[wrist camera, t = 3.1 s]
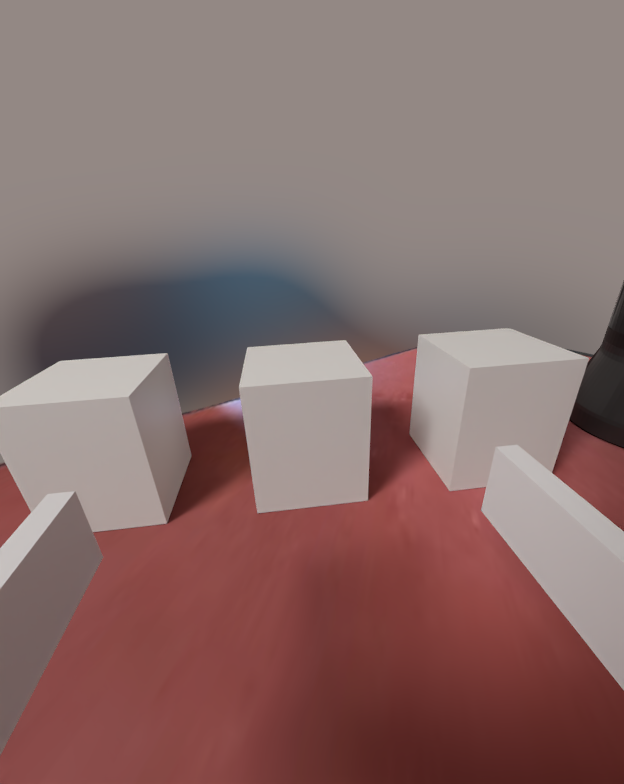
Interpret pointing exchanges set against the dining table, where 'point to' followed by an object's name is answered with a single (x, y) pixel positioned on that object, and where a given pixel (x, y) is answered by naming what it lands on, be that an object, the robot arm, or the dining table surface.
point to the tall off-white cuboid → (306, 424)
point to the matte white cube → (490, 400)
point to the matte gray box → (99, 438)
